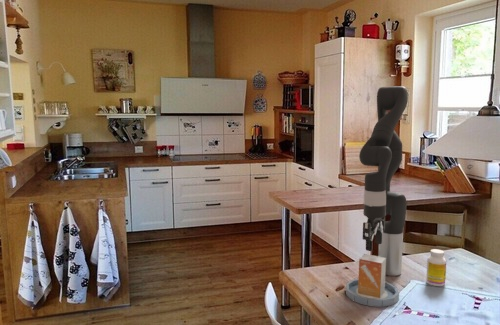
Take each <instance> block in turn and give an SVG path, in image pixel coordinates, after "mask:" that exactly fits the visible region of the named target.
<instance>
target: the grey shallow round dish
mask: <svg viewBox="0 0 500 325" xmlns="http://www.w3.org/2000/svg"><path fill="white" fill-rule="evenodd" d="M345 294H346V297H348V298H349V299H350V300H352V301H353V302H355V303H357V304H360V305H364V306H368V307H374V308H375V307H378V308H379V307H383V308H384V307H389V306H392V305H395V304H396V303H397V302H398V301H399V300H400V299H399V298H400V291H399V290H398V288H397V286H395V285H393V284H392V283H390V282H388V281H385V291H384V293H383V295H382V296H381V298H377V297H373V296H369V295H365V294H361V293H358V278H354V279H351V280H349V281H348V282H347V283H345Z"/></svg>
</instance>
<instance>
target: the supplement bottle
mask: <svg viewBox="0 0 500 325" xmlns="http://www.w3.org/2000/svg"><path fill="white" fill-rule="evenodd" d="M444 255H445V251H444V250H442V249H436V248H433V249H430V255H429V256H428V257H427V260H426V261H427V262H426V277H425V278H426V279H425V280H426V283H427V284H428V285H431V286H434V287H442V286H445V284H446V276H447V275H446V273H447V260H446V258H445V257H444Z"/></svg>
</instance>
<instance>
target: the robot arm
mask: <svg viewBox="0 0 500 325" xmlns="http://www.w3.org/2000/svg"><path fill="white" fill-rule="evenodd" d="M408 93H409V92H408V90H407V88H406V87H405V86H404V85H403V86H401V85H400V86H399V85H398V86H397V85H396V86H394V85H393V86H382V87H379V88H378V90H377V93H376V112H377V122H376V123H375V124H374V127H373V131H372V133H371V135H370V137H369V138H368V140H367V141H366V142H365V143H364V145H363V146H362V147H361V149H360V152H359V156H358V158H359V160H360V163H361V164H362V165H363V166H367V167H377V171H373V172H368V173H366V174H365V175H364V192H363V216H364V217H366V218H367V222H363V223H362V240H364V241H365V250H366V251H368V252H372V251H373V249H374V248H373V245H374V243H373V240H374V236H375V244H377V245H378V253H377V254H378V255H377V256H379V257H384V258H386V270H385V276H391V277H393V276H400V275H401V274H402V271H403V270H402V268H403V243H404V240H403V239H404V228H405V224H406V216H407V215H406V214H407V206H408V205H407V203H408V202H407V198H406V196H405V195H404V194H403V193H399V192H392V191H391V181H392V179H393V176H394V174H395V173H396V171H397V170H398V169H399V167H400V165H401V163H402V160H403V143H402V140H401V139H400V138H401V137H400V136H399V135H398V133H397V132H396V131H395V129H396V127H397V125H398V123H399V121H400V119H401V118H402V115H403V114H404V113H405V112H404V111H405V110H406V108H407V105H408V101H409V100H408V99H409V94H408ZM388 111H389V112H388ZM387 215H389V216H390V218H389V219H390V220H387V221H386V216H387Z"/></svg>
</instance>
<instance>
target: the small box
mask: <svg viewBox="0 0 500 325" xmlns="http://www.w3.org/2000/svg"><path fill="white" fill-rule="evenodd" d="M385 270H386V258H384V257H379V256H378V255H374V254H373V255H371V254H367V253H364V254H362V255H361V257H359V259H358V278H357V279H358V293H361V294H365V295H369V296H373V297H377V298H381V296H382V295H383V293H384V291H385V282H386V275H385Z"/></svg>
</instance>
